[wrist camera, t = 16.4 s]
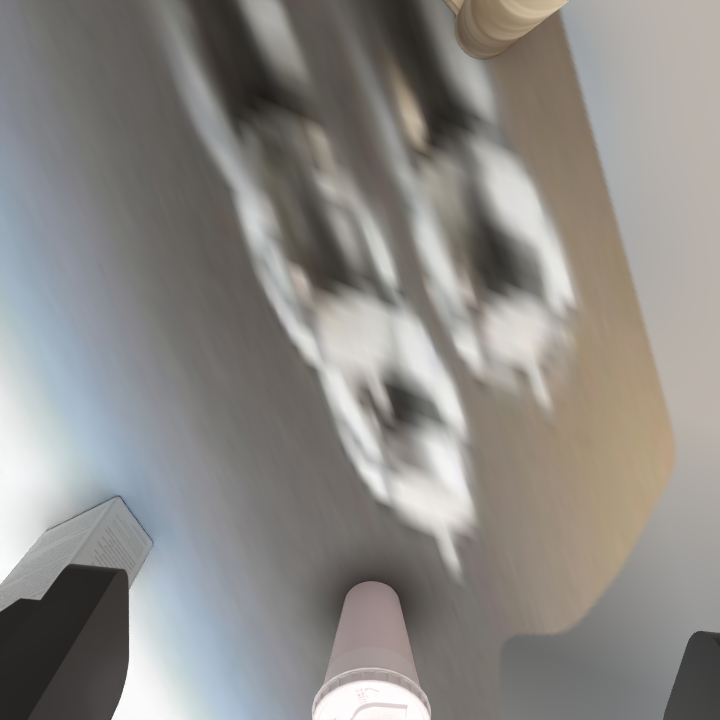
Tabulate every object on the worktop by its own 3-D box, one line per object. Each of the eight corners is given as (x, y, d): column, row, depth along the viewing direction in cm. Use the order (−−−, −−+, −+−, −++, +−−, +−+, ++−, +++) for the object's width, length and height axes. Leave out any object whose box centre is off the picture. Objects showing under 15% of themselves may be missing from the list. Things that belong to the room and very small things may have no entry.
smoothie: (439, 610, 43) (468, 819, 29) (365, 658, 44) (361, 878, 31) (378, 546, 41) (381, 734, 28) (304, 598, 43) (272, 801, 29)
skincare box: (82, 579, 43) (-24, 736, 31) (44, 530, 41) (-81, 674, 30) (158, 544, 42) (77, 692, 30) (121, 492, 40) (22, 626, 29)
